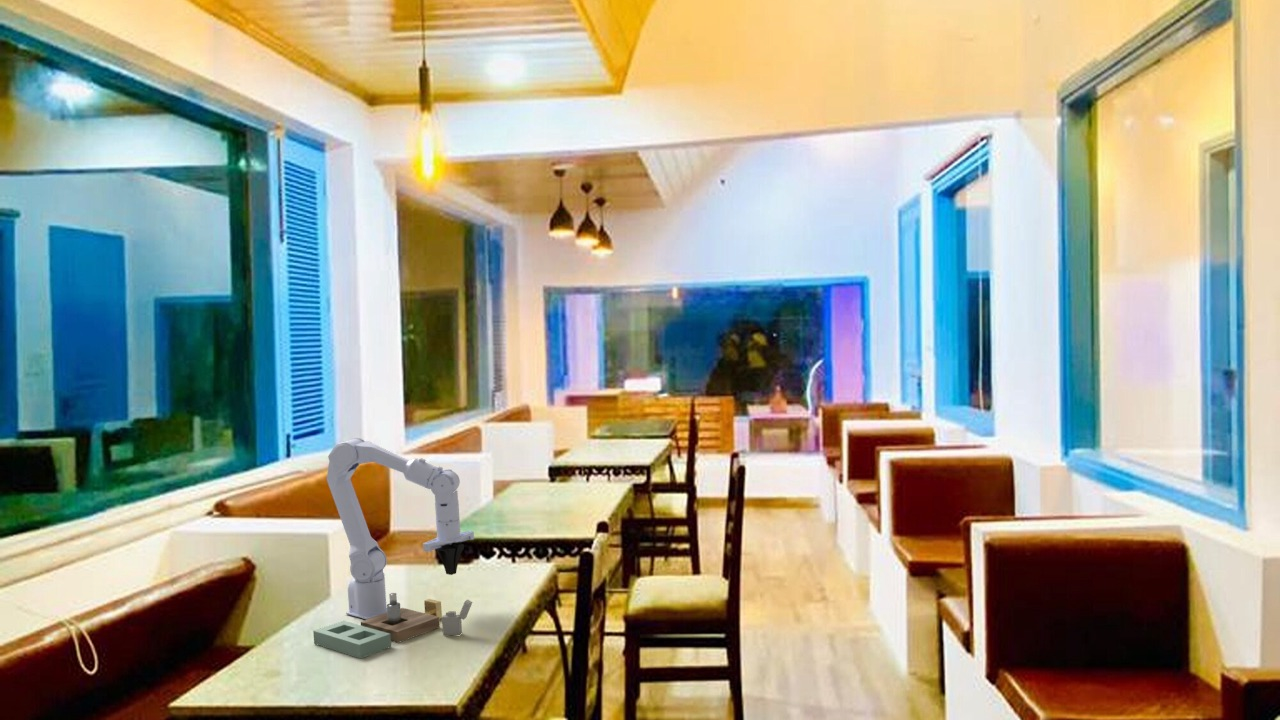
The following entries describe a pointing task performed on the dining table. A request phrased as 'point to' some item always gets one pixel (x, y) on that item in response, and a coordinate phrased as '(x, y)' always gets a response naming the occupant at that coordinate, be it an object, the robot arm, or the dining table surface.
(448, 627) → the lighter
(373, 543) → the robot arm
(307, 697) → the dining table surface
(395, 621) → the grey stepped cylinder
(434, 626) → the socket block
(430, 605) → the light wooden block
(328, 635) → the drill rack
